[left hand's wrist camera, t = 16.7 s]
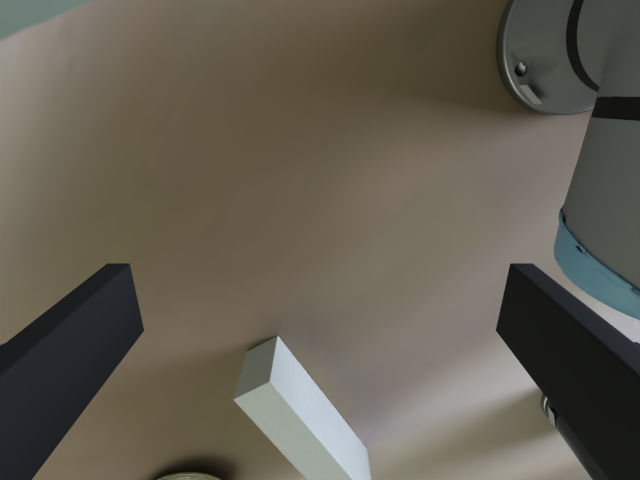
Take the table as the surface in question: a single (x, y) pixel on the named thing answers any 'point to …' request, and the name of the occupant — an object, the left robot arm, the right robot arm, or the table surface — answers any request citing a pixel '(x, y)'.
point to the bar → (298, 416)
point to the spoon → (188, 476)
